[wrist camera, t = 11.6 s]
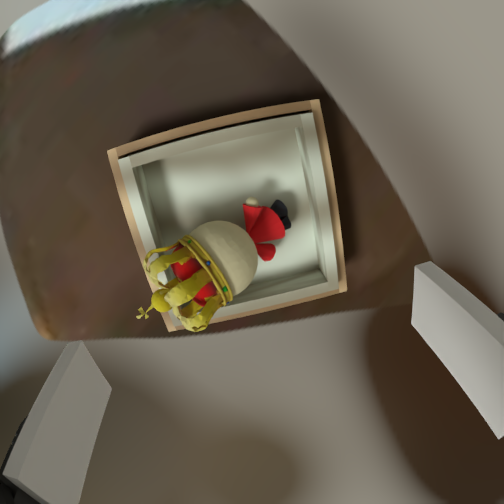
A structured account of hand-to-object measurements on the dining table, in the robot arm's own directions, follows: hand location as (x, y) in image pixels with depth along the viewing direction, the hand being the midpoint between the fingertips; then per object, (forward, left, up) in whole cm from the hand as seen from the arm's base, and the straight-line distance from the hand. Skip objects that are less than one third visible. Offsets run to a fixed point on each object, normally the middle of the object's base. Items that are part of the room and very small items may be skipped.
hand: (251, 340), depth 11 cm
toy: (+1, +4, -17) cm, 18 cm away
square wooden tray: (0, 0, -20) cm, 20 cm away
